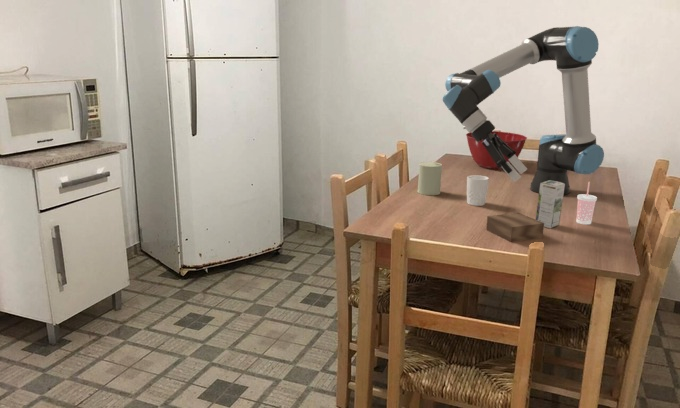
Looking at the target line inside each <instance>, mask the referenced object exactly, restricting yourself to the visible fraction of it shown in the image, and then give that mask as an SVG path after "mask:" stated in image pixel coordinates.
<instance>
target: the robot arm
mask: <svg viewBox="0 0 680 408" xmlns="http://www.w3.org/2000/svg"><path fill="white" fill-rule="evenodd" d="M598 51H599V38H598V36H597V33H596V32H595V31H593V30H592V29H591V28H589V27H587V26H578V25H576V26H565V27H563V26H562V27H551V28H547V29H546V30H542V31H541V32H539V33H536V34H534V35H532V36H530V37H528V38H526V39H524V40H523V41H522V42H521V44H519V45H517V46H516V47H514V48H512V49H509V50H507V51H506V52H503V53H501V54H499V55H497V56H494V57H493V58H490V59H488V60H486V61H484V62H482V63H480V64H478V65H476V66H473V67H472V68H470V69H467V70H465V71H463V72H456V73H451V74H450V75H448V76H447V78H446V79H445V82H444V83H445V84H444V85H445V90H446V91H447V92H446V93H445V94H444V95H443V96H442V102H443V103H444V104H443V105H445V107H446V108H447V109H448V110H449V111H450V112H451V113H452V115H453V116H454V117H455V118H456V119H457V120H458V122H459V123H461V125H462V129H463V130H466V131H467V132H468V133H470V132H472V134H471V136H472V137H473V138H474V139H475V140H476V141H477V142H480V141H481V140H482V139H483V142H482V144H483V145H484V147H485V148H486V149H487V151H488V152H489V154H490V155H491V157H492V159H493V160H494V162H495V163H496V165H497V167H498V168H500V167H501V168H502V169H501V170H503V171H504V172H505V174H506V176H508V177H509V178H510V180H511V181H512V182H513V183H516V182H517V181H518V180H519V179H521V178H522V176H521V175H523V174H524V173H525V172H526V171H527V170H528V168H527V166H526V165H525V164H524V163H523V162H522V161H521V160H520V159H519V156H518V157H517V156H516V155H514V154H516V151H514V150H513V149H511V148H510V147H509V146H508V145H507V144H506V143H505V142H504V141H503V140H502V139H501V138H500V137H499V136H498V135H497V134H496V133H494V134H492V133H491V132H492V131H494V130H495V129H496V126H495V125H494V124H493V123H492V122H491V120H489V119H488V117H487V116H486V114H485V113H483V111H482V110H481V108H479V106H478V105H479V104H480V103H482V102H483V101H485V100H486V99H487V98H489V97H490V96H492V94H494V93H495V92H496V91H497V90H498V89H500V88H501V83H502V82H501V79H500V78H502V77H504V76H506V75H508V74H511V73H513V72H514V71H517V70H520V69H521V68H523V67H525V66H527V65H529V64H530V65H535V64H537V63H540V62H544V61H545V62H547V61H556V70H558V71H559V72H560V73H561V82H562V93H563V95H562V96H563V106H564V108H563V109H564V120H565V121H564V122H565V134H545V135H542V136H541V137H540V140H539V144H538V155H537V164H536V172H535V174H534V175H533V179H532V181H531V183H530V186H529V187H530V188H529V189H530V191H532V192H534V193H537V194H539V190H540V183H542V182H545V181H549V180H551V181H558V182H561V183H564V184H565V187H564V194H563V196H564V195H568V194H569V193H570V190H571V187H570V182H569V177H568V171H570V172H574V173H576V174H577V175H579V174H581V175H591V174H593V173H595V172H596V171H597V170H598V169H599V168H600V166H602V163H603V161H604V157H605V150H604V149H603V147H602V146H601V145H600V144H597V136H596V135H595V134H594V133H593V132H592V125H591V123H592V122H591V121H592V120H591V109H590V107H591V105H590V92H589V90H590V89H589V73H588V70H589V68H590V66H591V65H592V64H593V59H594V58H595V57H596V56H597V53H598ZM487 119H488V120H487ZM503 155H505V156H506V157H507V158H510V159H508V160H509V161H510V162H511V164H512V165H511V164H510V163H509V162H507V161H506V159H505V158H504V156H503Z"/></svg>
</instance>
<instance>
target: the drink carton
mask: <svg viewBox="0 0 680 408" xmlns="http://www.w3.org/2000/svg"><path fill="white" fill-rule="evenodd" d="M564 187H565V184H564V183H561V182H558V181H551V180H549V181H545V182H542V183H540V190H539V193H538V198H537V206H536V207H537V208H536V214H535V215H536V216H535V220H538V221H540V222H543V223H544V228H547V229H553V228H555V227H558V226H560V221H561V213H562V208H563V207H562V206H563V200H564V195H563V194H564Z"/></svg>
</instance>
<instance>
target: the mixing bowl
mask: <svg viewBox="0 0 680 408" xmlns="http://www.w3.org/2000/svg"><path fill="white" fill-rule="evenodd" d="M491 133H492V134H494V133H496V134H497V135H498V136H499V137H500V138H501V139H502V140H503V141H504V142H505V143H506V144H507V145H508V146H509V147H510V148H511V149H513V150H514V151H516V154H514V155H516V156H517V157H518V158H519V156H520V154H521V153H522V150H523V148H524V146H525V143H526V141H527V139H528V137H527V136H526V135H522V134H519V133H514V132H513V133H512V132H507V131H494V130H493V131H492V132H491ZM471 134H472V132H468V133H466V134H465V136H466V139H467V145H468V148H469V152H470V154H471V156H472V158H473V160H474V161H473V162H475V163H476V164H477V165H478V166H479V167H480V166H481V168H483V167H484V168H483V169H487V168H491V169H490V170H503V169H502V168H501V167H500V168H498V167H497V165H496V163H495V162H494V160H493V159H492V157H491V155H490V154H489V152H488V151H487V149H486V148H485V147H484V145H483V144H482V142H483V139H482V140H481V141H480V142H477V141H476V140H475V139H474V138H473V137H472V136H471ZM503 156H504V158H505V159H506V161H507V162H509V163H510V164H511V162H510V161H509V160H508V159H510V158H507V157H506V156H505V155H503ZM511 165H512V164H511ZM512 166H513V165H512Z"/></svg>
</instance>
